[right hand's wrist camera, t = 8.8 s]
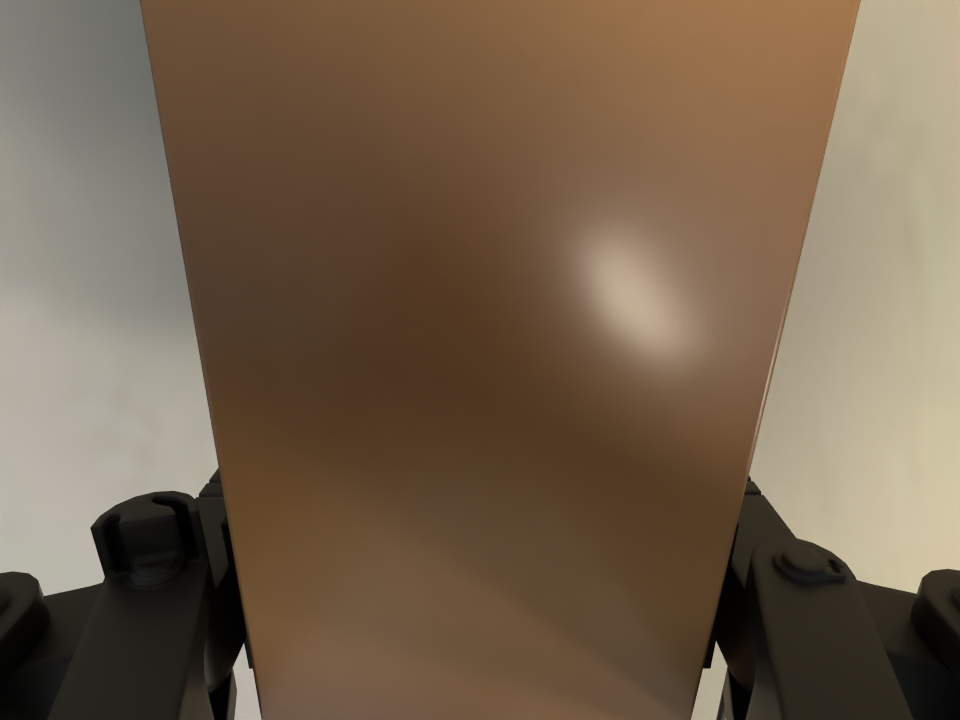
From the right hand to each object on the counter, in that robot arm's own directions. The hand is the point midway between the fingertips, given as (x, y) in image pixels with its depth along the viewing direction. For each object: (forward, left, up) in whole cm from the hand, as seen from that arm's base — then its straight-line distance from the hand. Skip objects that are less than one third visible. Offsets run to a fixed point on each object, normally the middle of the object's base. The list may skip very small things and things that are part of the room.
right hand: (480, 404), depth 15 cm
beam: (+9, -16, -1) cm, 19 cm away
